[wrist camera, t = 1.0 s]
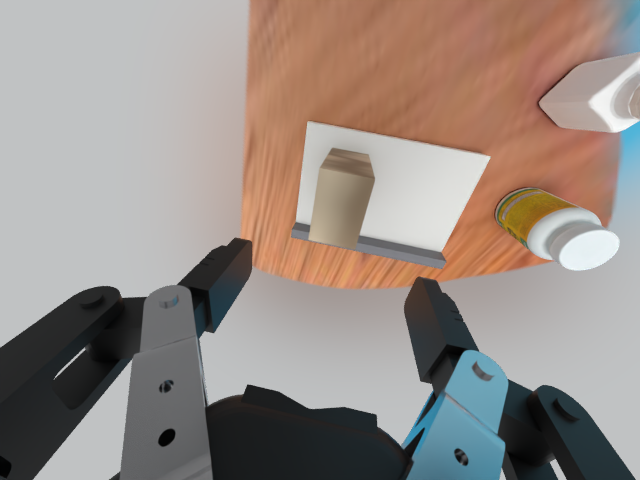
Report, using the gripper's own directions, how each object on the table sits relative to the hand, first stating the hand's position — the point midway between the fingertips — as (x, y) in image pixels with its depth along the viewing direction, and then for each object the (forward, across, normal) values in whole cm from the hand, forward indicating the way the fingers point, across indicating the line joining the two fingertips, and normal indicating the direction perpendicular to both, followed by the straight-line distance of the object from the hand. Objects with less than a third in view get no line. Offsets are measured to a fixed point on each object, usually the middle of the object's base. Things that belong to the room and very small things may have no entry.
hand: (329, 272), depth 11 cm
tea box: (+18, 0, 0) cm, 18 cm away
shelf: (+20, -4, +2) cm, 20 cm away
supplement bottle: (+20, -21, 0) cm, 29 cm away
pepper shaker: (+20, -19, -11) cm, 30 cm away
